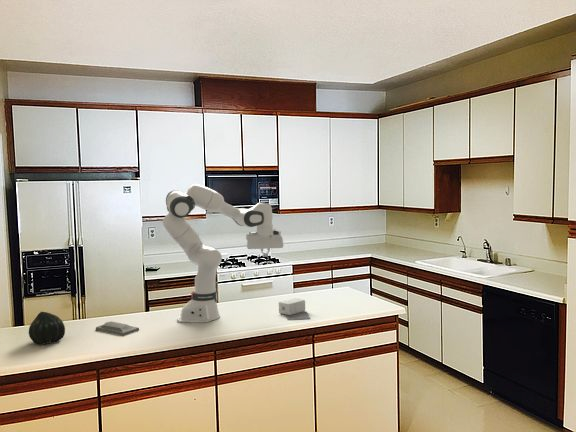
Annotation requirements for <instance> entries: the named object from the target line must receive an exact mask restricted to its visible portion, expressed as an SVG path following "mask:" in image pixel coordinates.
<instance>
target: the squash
mask: <svg viewBox="0 0 576 432" xmlns="http://www.w3.org/2000/svg"><path fill="white" fill-rule="evenodd" d="M65 326H66V325H65V324H64V321H63V319H61V318H60V316H58V315H56V314H52V313H51V312H46V311H40V312H39V313H38V314H37V316H36V317H35V318H34V319H33V321H32V322H31V324H30V325H29V328H28V336H29V338H30V340H31V341H32V342H33V343H34V344H37V345H42V346H43V345H46V344H48V343H51V342H52V341H53V342H58V341H59V342H60V340H62V339H63V338H64V336H65V333H66V327H65Z"/></svg>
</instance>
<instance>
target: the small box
mask: <svg viewBox="0 0 576 432" xmlns="http://www.w3.org/2000/svg"><path fill="white" fill-rule="evenodd" d="M305 311H306V300H305V299H301V298H295V297H294V298H290V299H286V300H282V301H278V313H279V314H282V315H285V316H286V315H292V314H296V313H299V312H305Z"/></svg>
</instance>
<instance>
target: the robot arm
mask: <svg viewBox="0 0 576 432" xmlns="http://www.w3.org/2000/svg"><path fill="white" fill-rule="evenodd" d="M165 203H166V211H167V212H168V213H167V214H166V215H165V216H164V218H163V220H162V224H163V227H164V229H165V231H167V233H168V234H169V236H171V238H172V239H173V240H174V241H175V242H176V243H177V244H178V245H179V247H180V248H181V249H182V250H183V251H184V253H185V254H186V256H187V258H188V260H189V261H190V262H191V263H193V264H194V265H196V266H198V268H197V273H196V275H195V277H194V291H193V290H192V291H191V292H190V297H191V299H190V300H189V301H188V302H187V303H186V304H184V305H183V307H182V309H181V312H180V314H178V316H177V317H176V318H177V322H178V323H208V322H211V321H214V320H217V319H219V318H221V315H220V312H219V308H218V302H217V301H218V291H217V288H216V287H217V286H216V284H217V282H216V281H217V280H216V279H217V271H218V267H219V266H220V264H221V262H222V253H221V252H220V251H219V250H218V249H216V248H214V247H212V246H207V245H206V244H204V243H203V241H202V240H201V238H200V234H199V233H198V232H197V230H195V228H194V227H192V225H191V224H190V223H189V222H188V220H186V217H187V216H189V215H190V214H191V212H192V211H193V210H194V209H195V207H198V208H201V209H203V210H205V211H208V212H212V213H218V214H219V213H220V214H222V215H224V216H227V217H229V218H230V219H232V220H233V222H235V224H237V225H238V226H240V227H247V228H254V227H256V231H253V232H252V231H251V232H248V233H246V235H245V239H246V242H247V243H246V248H247V249H248V250H260V252H261V253H262V257H263V258H264V257H269V253H270V251H271V249H283V248H284V238H283V236H282V235H281V234H282V233H281V230H279V229H276V228H273V209H272V206H271V204H270V203H265V202H257V204H255V205H254V206H252V207H250V208H245V207H241V208H239V207H236V206H234V205H232V204H229V203H228V202H226V201H225V198H224V196H223V195H222V194H221V193H219V192H218V191H216V190H214V189H213V188H209V187H207V186H204V185H200V184H197V183H194V184H192V185H191V186H189V188H188V189H187V190H186V192H183V191H181V190H178V189H174V190H171V191H169V192H168V193H167V195H166V197H165ZM264 249H267V251H266V252H264Z"/></svg>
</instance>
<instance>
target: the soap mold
mask: <svg viewBox="0 0 576 432" xmlns="http://www.w3.org/2000/svg"><path fill="white" fill-rule="evenodd" d="M95 331H98V332H101V333H106V334H112V335H116V336H121V337H124V336H127V335H130V334H132V333H136V332H137V331H140V327H137V326H131V325H128V324H127V323H121V322H115V321H107V322H104V324H101V325H98V326H95Z"/></svg>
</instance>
